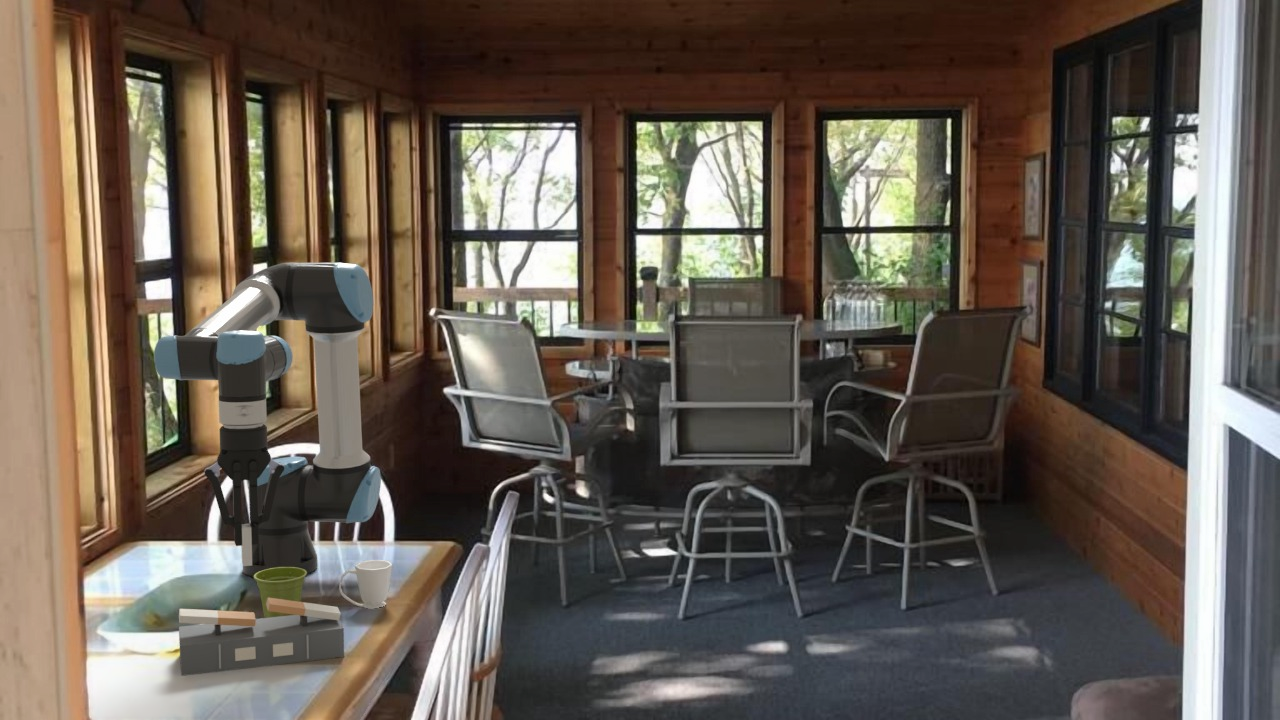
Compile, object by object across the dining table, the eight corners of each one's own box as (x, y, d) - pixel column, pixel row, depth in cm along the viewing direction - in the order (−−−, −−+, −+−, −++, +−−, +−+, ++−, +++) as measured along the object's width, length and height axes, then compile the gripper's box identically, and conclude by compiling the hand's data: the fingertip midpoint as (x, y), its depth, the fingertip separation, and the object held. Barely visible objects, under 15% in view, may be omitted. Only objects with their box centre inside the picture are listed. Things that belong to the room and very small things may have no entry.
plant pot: (260, 630, 231) (259, 583, 230) (250, 615, 239) (249, 570, 238) (313, 623, 235) (312, 577, 234) (301, 608, 243) (300, 564, 242)
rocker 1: (178, 615, 214) (179, 608, 214) (252, 619, 218) (253, 612, 218) (179, 622, 210) (180, 615, 210) (254, 626, 214) (255, 619, 214)
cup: (392, 610, 243) (391, 569, 242) (338, 612, 241) (337, 570, 240) (393, 599, 250) (393, 559, 249) (341, 601, 248) (340, 560, 247)
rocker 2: (266, 604, 219) (267, 597, 219) (335, 613, 223) (337, 606, 223) (268, 611, 215) (269, 604, 215) (339, 620, 219) (340, 613, 219)
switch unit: (179, 655, 217) (178, 617, 217) (336, 638, 227) (335, 602, 226) (181, 676, 208) (180, 636, 207) (344, 657, 217) (343, 619, 216)
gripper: (202, 430, 206) (206, 573, 209) (286, 426, 211) (289, 566, 214) (200, 423, 213) (205, 561, 216) (281, 419, 218) (285, 554, 221)
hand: (247, 563), depth 215 cm, fingers closed
